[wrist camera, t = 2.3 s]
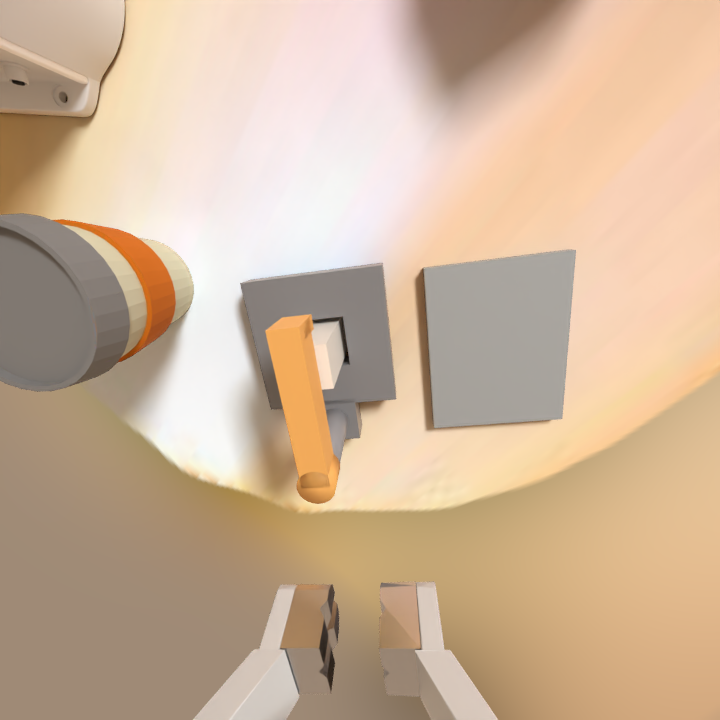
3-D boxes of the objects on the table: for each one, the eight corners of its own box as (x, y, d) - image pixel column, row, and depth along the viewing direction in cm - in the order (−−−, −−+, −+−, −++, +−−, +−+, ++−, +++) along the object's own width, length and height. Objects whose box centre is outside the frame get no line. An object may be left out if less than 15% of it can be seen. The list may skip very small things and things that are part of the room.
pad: (433, 422, 40) (434, 428, 39) (423, 267, 34) (424, 268, 33) (557, 413, 39) (562, 418, 38) (569, 249, 33) (575, 250, 32)
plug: (312, 354, 38) (288, 392, 29) (305, 320, 37) (278, 348, 28) (346, 350, 38) (333, 388, 29) (341, 316, 37) (325, 343, 27)
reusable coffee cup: (138, 192, 34) (-38, 162, 20) (232, 286, 36) (136, 318, 22) (76, 278, 38) (-109, 304, 23) (167, 358, 40) (48, 425, 26)
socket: (286, 429, 42) (256, 487, 33) (251, 279, 36) (202, 295, 26) (399, 421, 41) (402, 479, 31) (382, 262, 34) (380, 273, 25)
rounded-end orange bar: (310, 473, 32) (300, 504, 28) (277, 318, 27) (259, 331, 23) (343, 471, 32) (338, 502, 28) (316, 313, 27) (304, 326, 23)
